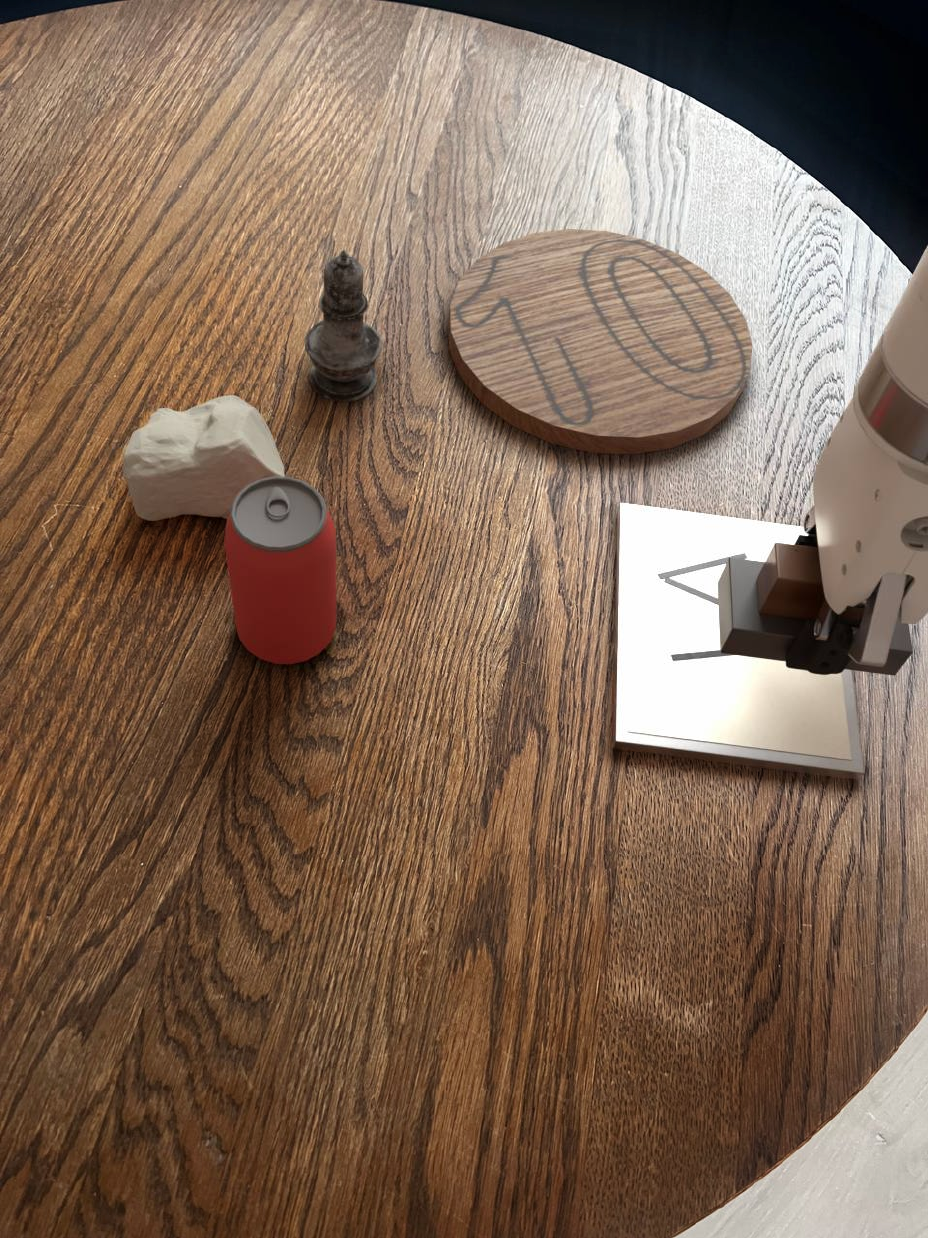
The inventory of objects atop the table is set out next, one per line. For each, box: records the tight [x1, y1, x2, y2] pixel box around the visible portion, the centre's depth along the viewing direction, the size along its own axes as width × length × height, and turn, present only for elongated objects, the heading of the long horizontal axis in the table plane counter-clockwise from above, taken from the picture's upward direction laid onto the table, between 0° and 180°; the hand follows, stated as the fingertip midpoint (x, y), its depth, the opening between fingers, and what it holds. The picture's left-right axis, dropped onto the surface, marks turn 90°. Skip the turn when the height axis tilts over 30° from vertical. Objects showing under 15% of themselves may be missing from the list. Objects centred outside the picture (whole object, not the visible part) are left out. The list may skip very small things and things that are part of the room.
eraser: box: [717, 542, 914, 677], centre depth 62 cm, size 10×5×6 cm, turn 85°
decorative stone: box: [121, 394, 286, 522], centre depth 79 cm, size 11×9×10 cm
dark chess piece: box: [304, 250, 383, 403], centre depth 84 cm, size 6×6×12 cm
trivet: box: [447, 228, 753, 455], centre depth 93 cm, size 25×25×2 cm
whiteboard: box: [611, 502, 865, 781], centre depth 78 cm, size 20×16×1 cm
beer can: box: [223, 476, 337, 665], centre depth 70 cm, size 7×7×12 cm
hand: (808, 622), depth 64 cm, fingers closed on eraser, 5 cm apart
